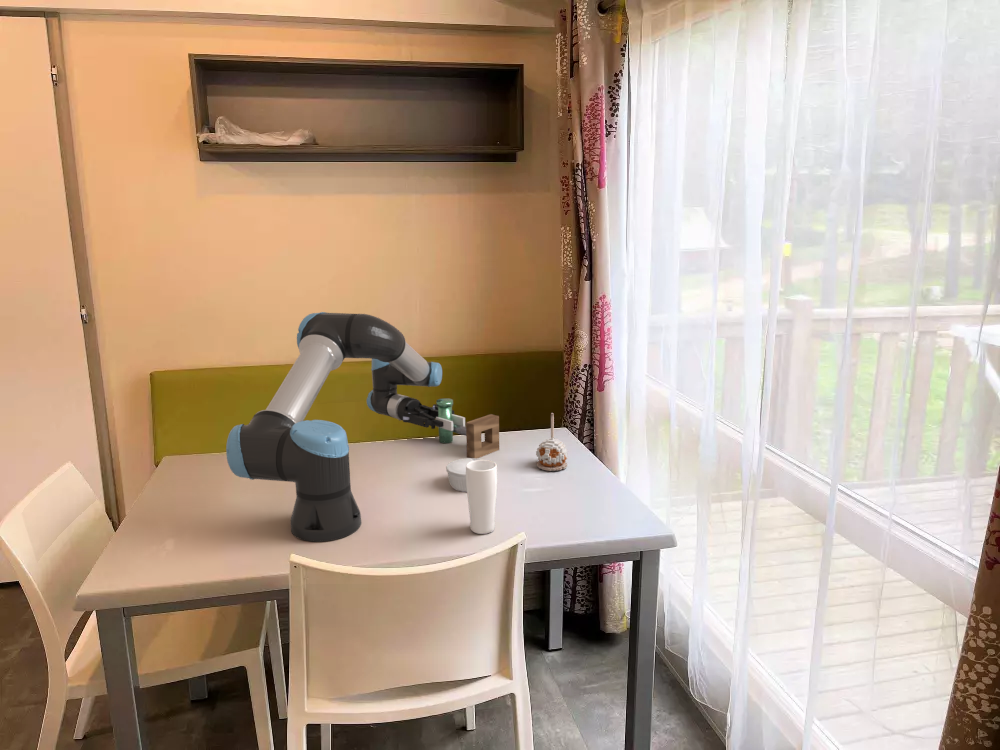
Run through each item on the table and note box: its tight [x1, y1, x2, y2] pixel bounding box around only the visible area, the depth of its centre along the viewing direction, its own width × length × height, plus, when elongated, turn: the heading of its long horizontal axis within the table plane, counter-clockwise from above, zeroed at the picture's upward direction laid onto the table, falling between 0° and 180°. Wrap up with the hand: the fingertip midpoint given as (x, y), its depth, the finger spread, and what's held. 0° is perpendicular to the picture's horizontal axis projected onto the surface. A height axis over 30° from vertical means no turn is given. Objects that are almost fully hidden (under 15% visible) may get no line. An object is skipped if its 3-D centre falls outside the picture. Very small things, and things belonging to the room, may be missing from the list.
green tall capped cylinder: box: [436, 398, 466, 444], centre depth 211 cm, size 15×5×12 cm, turn 47°
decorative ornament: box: [535, 412, 568, 472], centre depth 193 cm, size 8×8×15 cm
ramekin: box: [445, 457, 482, 493], centre depth 183 cm, size 11×11×5 cm
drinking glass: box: [466, 459, 498, 535], centre depth 158 cm, size 7×7×15 cm
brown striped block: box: [465, 413, 500, 459], centre depth 204 cm, size 3×10×10 cm, turn 137°
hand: (458, 424), depth 210 cm, fingers closed on green tall capped cylinder, 4 cm apart
